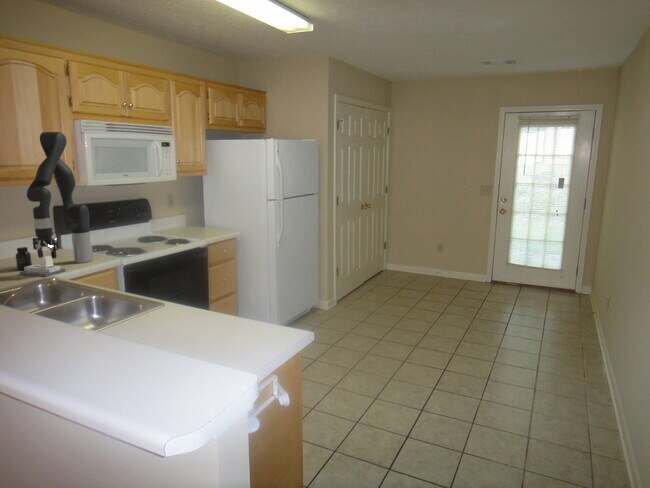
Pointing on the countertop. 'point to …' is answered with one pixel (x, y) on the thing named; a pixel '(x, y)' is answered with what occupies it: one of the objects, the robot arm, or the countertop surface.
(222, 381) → the countertop surface
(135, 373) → the countertop surface
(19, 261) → the supplement bottle
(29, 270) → the console
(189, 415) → the countertop surface
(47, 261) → the fader
